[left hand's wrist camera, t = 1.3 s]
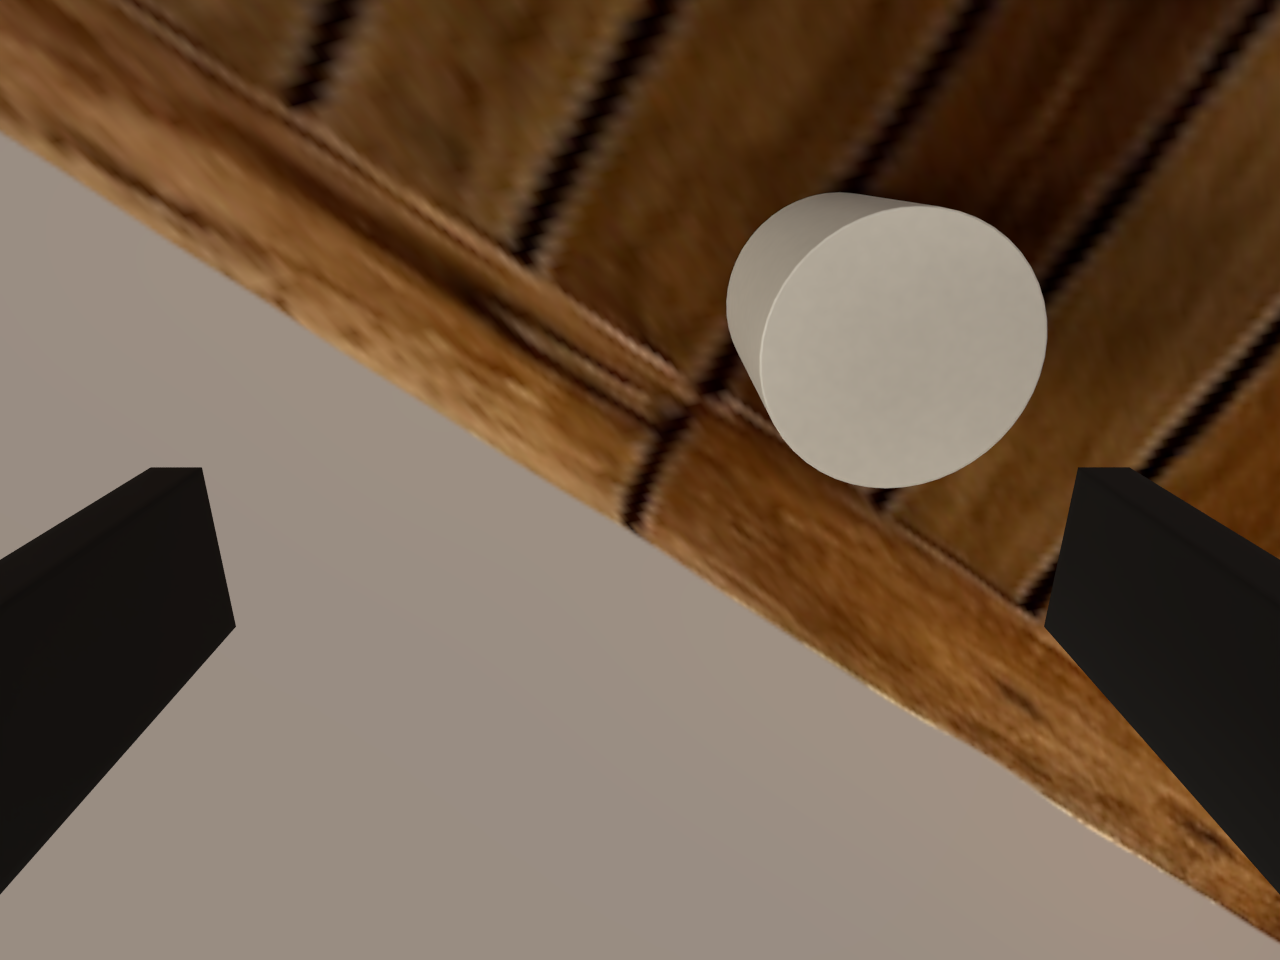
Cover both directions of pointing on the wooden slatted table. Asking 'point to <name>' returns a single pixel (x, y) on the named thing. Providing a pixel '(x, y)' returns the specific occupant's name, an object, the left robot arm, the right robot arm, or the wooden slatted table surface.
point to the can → (886, 335)
